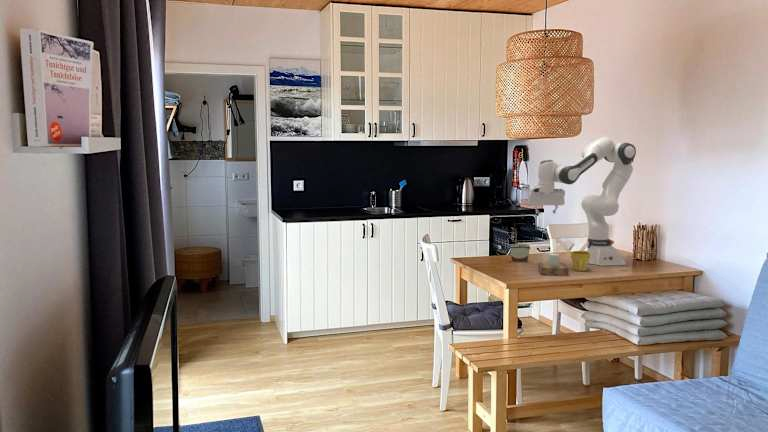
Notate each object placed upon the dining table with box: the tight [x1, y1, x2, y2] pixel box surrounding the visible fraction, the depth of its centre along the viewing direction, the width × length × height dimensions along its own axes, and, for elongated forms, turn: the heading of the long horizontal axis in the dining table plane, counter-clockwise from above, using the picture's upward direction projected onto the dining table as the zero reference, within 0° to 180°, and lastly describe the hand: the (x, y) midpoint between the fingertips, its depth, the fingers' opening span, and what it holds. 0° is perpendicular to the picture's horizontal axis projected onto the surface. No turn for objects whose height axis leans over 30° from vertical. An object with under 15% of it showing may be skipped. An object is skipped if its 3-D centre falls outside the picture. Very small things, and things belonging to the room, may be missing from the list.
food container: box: [508, 243, 531, 263], centre depth 382 cm, size 12×6×10 cm, turn 84°
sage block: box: [547, 253, 560, 266], centre depth 349 cm, size 5×5×6 cm
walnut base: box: [537, 262, 569, 277], centre depth 350 cm, size 14×14×4 cm
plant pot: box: [570, 250, 590, 272], centre depth 357 cm, size 10×10×10 cm
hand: (545, 213), depth 367 cm, fingers open, 8 cm apart
